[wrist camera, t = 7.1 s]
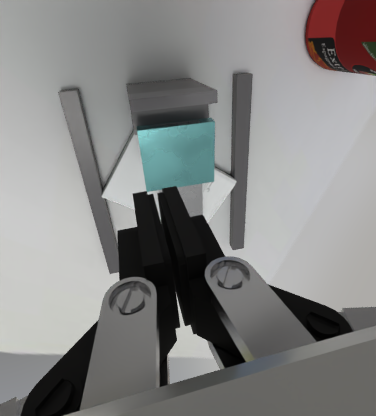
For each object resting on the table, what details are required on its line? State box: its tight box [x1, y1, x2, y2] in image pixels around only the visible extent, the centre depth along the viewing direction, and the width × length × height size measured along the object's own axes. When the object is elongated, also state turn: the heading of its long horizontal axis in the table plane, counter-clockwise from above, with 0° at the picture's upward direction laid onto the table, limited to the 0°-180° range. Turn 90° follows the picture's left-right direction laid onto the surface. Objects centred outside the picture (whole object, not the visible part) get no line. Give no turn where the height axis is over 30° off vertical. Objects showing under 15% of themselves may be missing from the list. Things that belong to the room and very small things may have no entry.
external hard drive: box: [101, 130, 237, 223], centre depth 30 cm, size 2×8×12 cm
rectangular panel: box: [136, 118, 215, 291], centre depth 25 cm, size 18×6×1 cm, turn 4°
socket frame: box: [58, 73, 253, 274], centre depth 28 cm, size 21×18×9 cm
